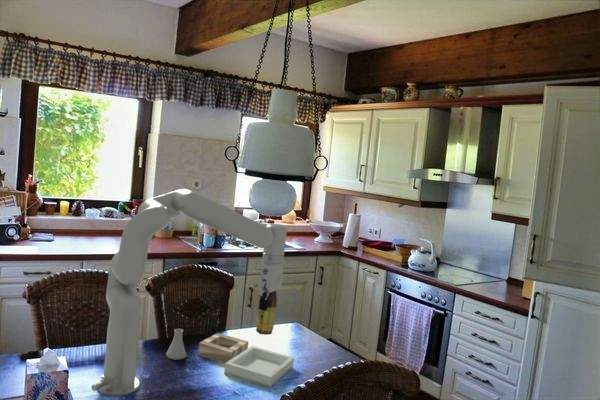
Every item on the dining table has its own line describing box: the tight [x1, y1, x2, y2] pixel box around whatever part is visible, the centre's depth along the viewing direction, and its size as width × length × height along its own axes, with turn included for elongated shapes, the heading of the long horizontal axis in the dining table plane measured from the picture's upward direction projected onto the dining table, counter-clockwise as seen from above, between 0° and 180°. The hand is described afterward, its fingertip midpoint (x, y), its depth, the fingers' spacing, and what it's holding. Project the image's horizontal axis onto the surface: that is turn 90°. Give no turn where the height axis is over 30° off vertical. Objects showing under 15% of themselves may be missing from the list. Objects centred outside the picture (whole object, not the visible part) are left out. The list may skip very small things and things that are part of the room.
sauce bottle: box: [255, 289, 278, 336], centre depth 179 cm, size 7×6×20 cm
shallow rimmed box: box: [197, 332, 249, 364], centre depth 192 cm, size 13×14×5 cm
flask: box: [165, 328, 188, 360], centre depth 185 cm, size 7×7×10 cm
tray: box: [224, 345, 295, 389], centre depth 181 cm, size 20×18×4 cm
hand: (267, 307), depth 179 cm, fingers closed on sauce bottle, 6 cm apart
